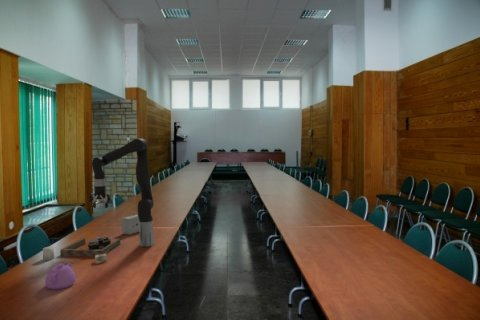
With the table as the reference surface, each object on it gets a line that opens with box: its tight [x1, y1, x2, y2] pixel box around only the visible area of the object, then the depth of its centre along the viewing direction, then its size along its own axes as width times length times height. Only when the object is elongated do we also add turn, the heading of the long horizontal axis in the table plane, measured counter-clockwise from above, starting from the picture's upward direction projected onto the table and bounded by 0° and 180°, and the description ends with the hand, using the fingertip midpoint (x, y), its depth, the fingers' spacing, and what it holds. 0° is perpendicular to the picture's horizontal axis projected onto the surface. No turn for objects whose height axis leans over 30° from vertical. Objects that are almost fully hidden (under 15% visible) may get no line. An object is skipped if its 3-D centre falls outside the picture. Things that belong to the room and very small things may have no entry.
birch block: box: [94, 254, 108, 264], centre depth 207 cm, size 6×4×4 cm, turn 120°
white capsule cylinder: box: [42, 246, 55, 262], centre depth 212 cm, size 6×6×7 cm
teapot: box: [44, 262, 77, 291], centre depth 174 cm, size 14×20×11 cm
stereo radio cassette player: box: [121, 210, 139, 236], centre depth 274 cm, size 21×8×20 cm, turn 149°
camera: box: [87, 236, 112, 250], centre depth 226 cm, size 16×10×10 cm, turn 149°
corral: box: [60, 237, 122, 258], centre depth 229 cm, size 28×26×4 cm
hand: (100, 207), depth 241 cm, fingers open, 8 cm apart
